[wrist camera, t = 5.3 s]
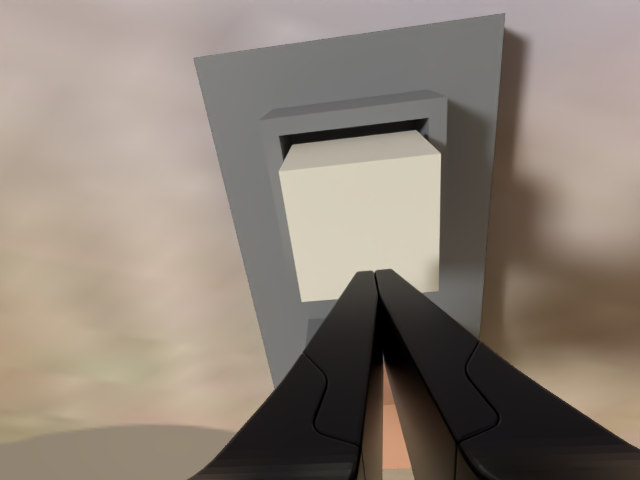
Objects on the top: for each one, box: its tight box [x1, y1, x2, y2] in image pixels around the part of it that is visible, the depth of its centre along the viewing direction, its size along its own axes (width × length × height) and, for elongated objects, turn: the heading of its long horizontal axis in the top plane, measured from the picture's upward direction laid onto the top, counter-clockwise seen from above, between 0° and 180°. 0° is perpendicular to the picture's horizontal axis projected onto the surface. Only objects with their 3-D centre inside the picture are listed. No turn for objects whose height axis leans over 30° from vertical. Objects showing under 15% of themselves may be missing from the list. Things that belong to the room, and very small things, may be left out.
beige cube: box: [279, 130, 441, 302], centre depth 13 cm, size 4×4×4 cm
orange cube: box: [382, 364, 412, 469], centre depth 19 cm, size 4×4×4 cm
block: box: [193, 13, 505, 389], centre depth 19 cm, size 12×22×5 cm, turn 7°
